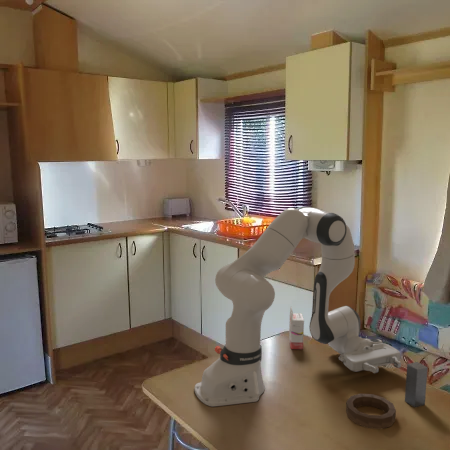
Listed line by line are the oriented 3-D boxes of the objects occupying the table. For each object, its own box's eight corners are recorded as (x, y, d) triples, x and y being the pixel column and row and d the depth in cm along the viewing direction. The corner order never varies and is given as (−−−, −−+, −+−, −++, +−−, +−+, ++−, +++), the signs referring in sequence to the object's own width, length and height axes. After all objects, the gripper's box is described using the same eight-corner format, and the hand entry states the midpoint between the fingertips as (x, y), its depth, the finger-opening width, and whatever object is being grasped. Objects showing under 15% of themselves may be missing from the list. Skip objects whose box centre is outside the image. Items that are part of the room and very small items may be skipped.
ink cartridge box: (303, 349, 181) (304, 313, 179) (290, 349, 182) (291, 312, 179) (301, 340, 190) (302, 305, 188) (288, 340, 190) (289, 305, 188)
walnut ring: (367, 433, 128) (368, 422, 128) (337, 408, 140) (337, 399, 140) (404, 421, 134) (405, 412, 133) (372, 399, 145) (373, 390, 145)
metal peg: (414, 407, 141) (417, 369, 139) (404, 401, 145) (407, 364, 143) (424, 404, 143) (427, 367, 141) (414, 398, 146) (417, 361, 144)
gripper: (336, 347, 161) (363, 364, 149) (383, 338, 169) (412, 353, 157) (335, 365, 162) (362, 383, 150) (382, 355, 170) (411, 371, 158)
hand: (388, 368), depth 153 cm, fingers open, 8 cm apart
